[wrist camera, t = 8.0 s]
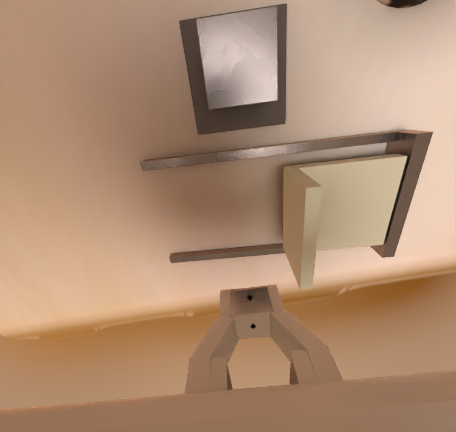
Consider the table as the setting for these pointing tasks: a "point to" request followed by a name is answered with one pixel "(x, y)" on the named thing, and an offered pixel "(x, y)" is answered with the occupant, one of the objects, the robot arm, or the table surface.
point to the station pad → (237, 116)
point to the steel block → (239, 58)
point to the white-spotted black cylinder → (402, 3)
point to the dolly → (337, 207)
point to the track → (397, 144)
